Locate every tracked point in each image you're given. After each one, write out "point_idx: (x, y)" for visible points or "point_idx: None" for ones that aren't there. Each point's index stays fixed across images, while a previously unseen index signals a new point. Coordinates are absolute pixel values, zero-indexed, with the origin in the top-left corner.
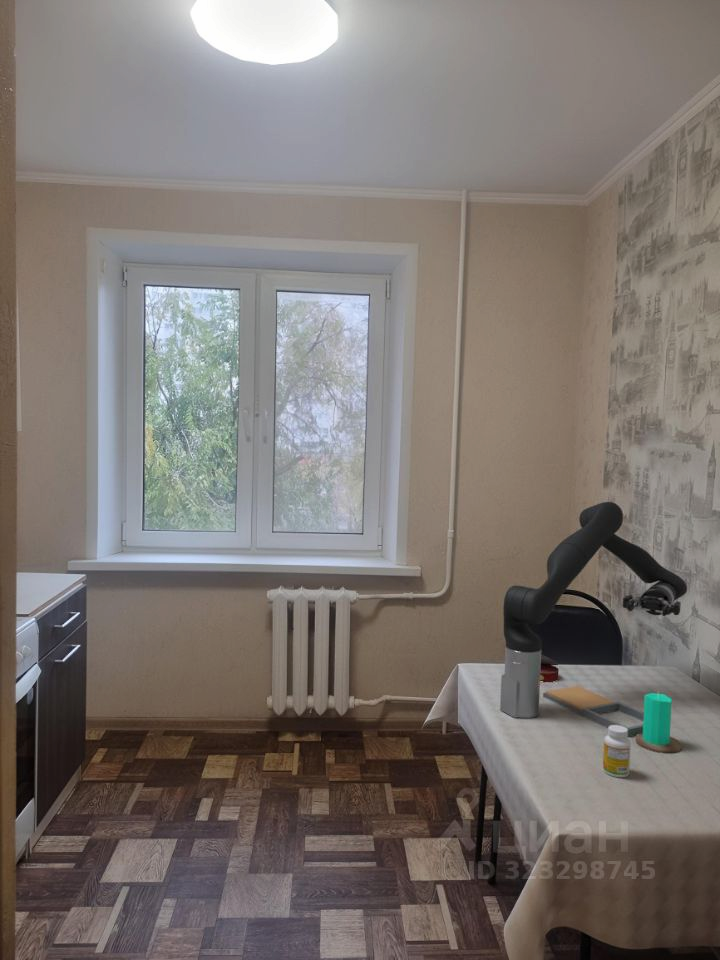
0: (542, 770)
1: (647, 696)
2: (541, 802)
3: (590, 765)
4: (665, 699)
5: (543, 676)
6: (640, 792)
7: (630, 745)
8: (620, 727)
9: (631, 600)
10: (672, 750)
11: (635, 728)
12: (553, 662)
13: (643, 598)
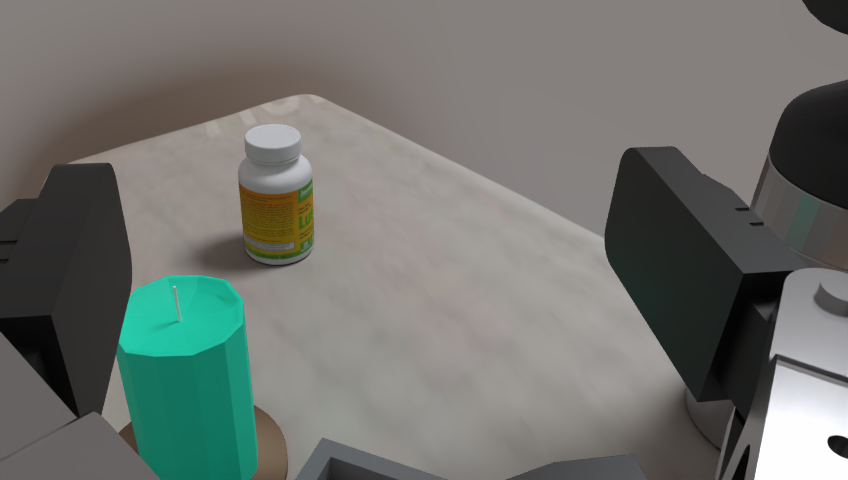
0: (428, 185)
1: (232, 318)
2: (364, 121)
3: (349, 244)
4: (143, 333)
5: None
6: (202, 208)
7: (238, 177)
8: (268, 141)
9: (803, 271)
10: (131, 424)
11: (300, 475)
12: None
13: (750, 463)
